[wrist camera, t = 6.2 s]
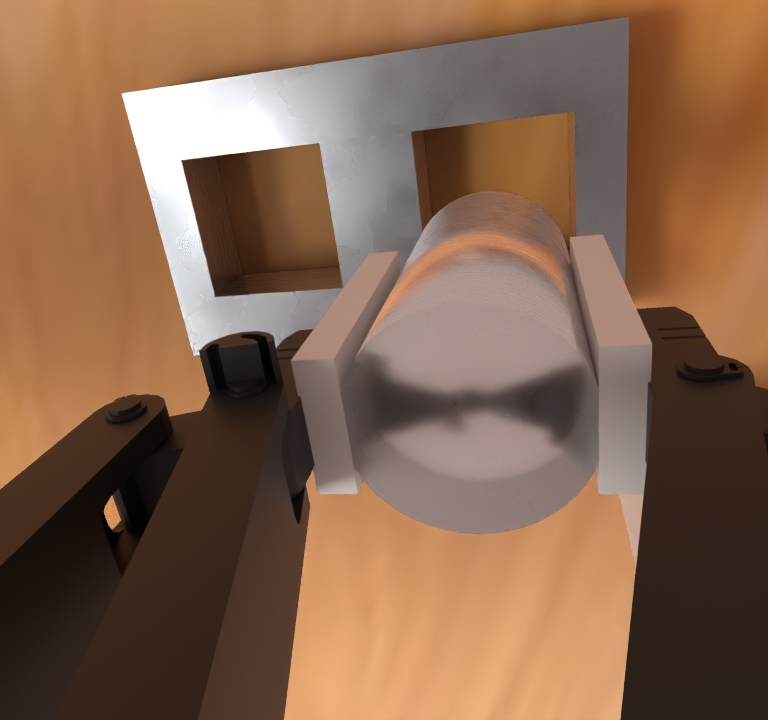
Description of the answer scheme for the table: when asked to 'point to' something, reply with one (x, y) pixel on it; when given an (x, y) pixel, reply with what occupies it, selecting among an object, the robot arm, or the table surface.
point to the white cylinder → (477, 374)
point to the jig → (369, 157)
